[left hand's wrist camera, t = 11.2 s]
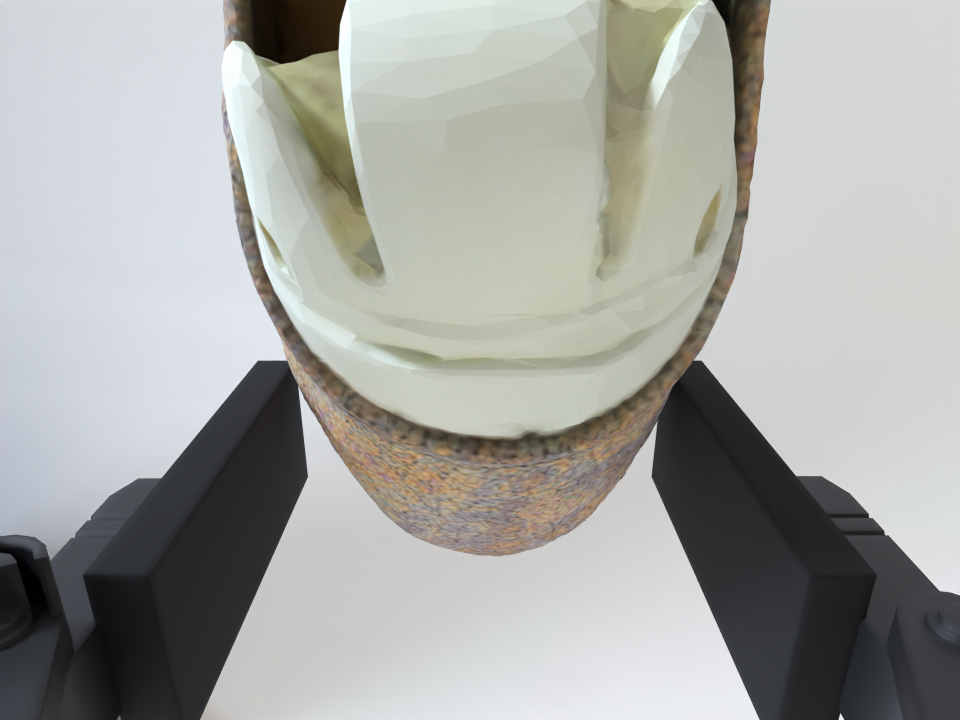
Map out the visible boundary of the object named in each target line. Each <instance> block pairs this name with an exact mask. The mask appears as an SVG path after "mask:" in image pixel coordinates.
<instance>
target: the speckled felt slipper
mask: <svg viewBox="0 0 960 720" xmlns="http://www.w3.org/2000/svg"><path fill="white" fill-rule="evenodd" d="M770 3H771V0H224V5H223V11H224V20H225V46H224V58H223V62H222V82H223V88H224V90H223V98H222V115H223V129H224V134H225V136H226V139H227V151H228V155H229V163H230V170H231V179H232V189H233V199H234V209H235V215H236V223H237V227H238V231H239V235H240V240H241V244H242V248H243V251H244V255H245V258H246V261H247V265H248V268H249V271H250V274H251V277H252V280H253V282H254V285H255V287H256V290H257V292H258V295H259V296H260V298H261V300H262V302H263V304H264V306H265V308H266V310H267V312H268V314H269V316H270V318H271V320H272V322H273V323H274V325H275V327H276V329H277V331H278V333H279V335H280V337H281V340H282V344H283V348H284V351H285V355H286V359H287V361H288V364H289V366H290V368H291V371H292V373H293V376H294V378H295V380H296V382H297V384H298V386H299V388H300V390H301V392H302V394H303V396H304V399H305V400H306V402H307V404H308V405H309V407H310V409H311V411H312V412H313V413H314V414H315V416H316V418H317V420H318V422H319V423H320V424H321V426H322V428H323V430H324V432H325V434H326V435H327V437H328V438H329V440H330V443H331V444H332V446H333V448H334V450H335V451H336V452H337V453H338V454H339V456H340V457H341V459H342V460H343V462H344V463H345V465H346V466H347V468H348V469H349V470H350V472H351V473H352V474H353V476H354V477H355V478H356V480H357V481H358V482H359V483H360V485H361V486H362V487H363V488H364V490H365V491H366V492H367V494H368V495H369V496H370V497H371V498H372V499H373V500H374V501H375V502H376V504H377V505H378V506H379V508H380V509H381V510H382V511H383V512H384V513H385V514H386V515H387V516H388V517H389V518H390V519H391V520H392V521H393V522H395V523H396V524H397V525H398V526H399V527H401V528H402V529H403V530H405V531H406V532H407V533H410V534H411V535H413V536H414V537H416V538H419V539H421V540H423V541H426V542H428V543H431V544H433V545H436V546H440V547H443V548H447V549H450V550H454V551H459V552H465V553H470V554H475V555H491V556H503V555H512V554H517V553H520V552H523V551H527V550H530V549H533V548H538V547H542V546H544V545H546V544H547V543H549V542H551V541H553V540H555V539H557V538H558V537H560V536H562V535H565V534H567V533H569V532H570V531H572V530H573V529H574V528H576V527H577V526H579V525H580V524H581V523H582V522H583V521H585V520H586V519H587V518H588V517H589V516H590V515H591V514H592V513H593V512H594V511H595V510H596V508H597V507H598V505H599V504H600V503H601V502H602V501H603V500H604V499H605V498H606V496H607V495H608V494H609V493H610V492H611V490H612V489H613V488H614V487H615V485H616V483H617V482H618V481H619V480H620V479H622V477H623V476H624V475H625V473H626V471H627V469H628V468H629V466H630V465H631V463H632V461H633V459H634V457H635V456H636V454H637V453H638V451H639V450H640V448H641V447H642V446H643V444H644V443H645V441H646V440H647V438H648V437H649V435H650V433H651V431H652V430H653V428H654V426H655V424H656V423H657V420H658V417H659V415H660V413H661V411H662V409H663V407H664V405H665V402H666V401H667V399H668V396H669V393H670V391H671V389H672V387H673V385H674V384H675V383H676V382H677V381H678V379H679V378H680V377H681V376H682V375H683V373H684V372H685V371H686V370H687V368H688V367H689V366H690V364H691V363H692V362H693V360H694V359H695V358H696V356H697V355H698V354H699V352H700V351H701V350H702V348H703V346H704V344H705V342H706V340H707V338H708V336H709V334H710V332H711V330H712V328H713V326H714V324H715V322H716V320H717V318H718V315H719V313H720V311H721V308H722V306H723V303H724V301H725V298H726V296H727V294H728V291H729V289H730V287H731V284H732V282H733V280H734V277H735V273H736V269H737V266H738V262H739V258H740V253H741V249H742V242H743V234H744V227H745V224H746V221H747V219H748V209H749V199H750V189H749V186H750V182H751V179H752V175H753V165H754V157H755V151H756V145H757V124H758V117H759V110H760V99H761V89H762V85H763V80H764V70H763V60H764V44H765V36H766V29H767V23H768V17H769V12H770Z"/></svg>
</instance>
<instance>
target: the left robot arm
mask: <svg viewBox="0 0 960 720" xmlns="http://www.w3.org/2000/svg"><path fill="white" fill-rule="evenodd" d="M307 478H308V473H307V464H306V455H305V446H304V436H303V427H302V418H301V409H300V399H299V390H298V384H297V382H296V380H295V378H294V376H293V373H292V371H291V368H290V366H289V364H288V361H257V363H256V364H255V365H254V366H253V368H252V369H251V370H250V371H249V372H248V374H247V375H246V376H245V377H244V379H243V380H242V381H241V382H240V383H239V385H238V386H237V387H236V388H235V390H234V391H233V392H232V393H231V394H230V396H229V397H228V398H227V399H226V400H225V402H224V403H223V404H222V405H221V407H220V408H219V409H218V410H217V411H216V413H215V414H214V415H213V416H212V418H211V419H210V420H209V421H208V422H207V424H206V425H205V426H204V427H203V429H202V430H201V431H200V432H199V433H198V435H197V436H196V437H195V438H194V439H193V441H192V442H191V443H190V444H189V446H188V447H187V448H186V449H185V450H184V452H183V453H182V454H181V455H180V457H179V458H178V459H177V460H176V461H175V463H174V464H173V465H172V466H171V468H170V469H169V470H168V471H167V472H166V474H165V475H164V476H163V477H162V478H161V479H137V480H135V481H134V482H132V483H130V484H129V485H127V486H125V487H124V488H122V489H121V490H119V491H117V492H116V493H114V494H112V495H111V496H109V498H108V499H107V500H106V501H105V502H104V503H103V504H102V505H101V506H100V507H99V509H98V510H97V511H96V512H95V513H94V514H93V515H92V516H91V521H87V522H86V523H85V524H84V525H83V526H82V527H81V528H80V529H79V530H78V532H77V533H76V537H75V538H71V539H70V540H69V541H68V543H67V544H66V545H65V546H64V547H63V548H62V549H61V550H60V551H59V552H58V553H57V555H56V556H55V557H54V558H53V559H52V560H51V561H50V559H49V556H48V552H47V549H46V545H45V544H43V543H42V542H40V541H39V540H38V539H36V538H35V537H28V536H21V535H9V536H0V720H200V718H201V716H202V714H203V712H204V709H205V707H206V705H207V703H208V700H209V698H210V696H211V694H212V691H213V689H214V687H215V685H216V682H217V680H218V678H219V676H220V673H221V671H222V669H223V667H224V664H225V662H226V660H227V658H228V655H229V653H230V651H231V649H232V646H233V644H234V642H235V640H236V637H237V635H238V633H239V631H240V628H241V626H242V624H243V622H244V619H245V617H246V615H247V613H248V610H249V608H250V606H251V604H252V601H253V599H254V597H255V595H256V592H257V590H258V588H259V586H260V583H261V581H262V579H263V577H264V574H265V572H266V570H267V568H268V565H269V563H270V561H271V559H272V556H273V554H274V552H275V550H276V547H277V545H278V543H279V541H280V538H281V536H282V534H283V532H284V529H285V527H286V525H287V523H288V520H289V518H290V516H291V514H292V511H293V509H294V507H295V505H296V502H297V500H298V498H299V496H300V493H301V491H302V489H303V487H304V484H305V482H306V480H307ZM652 479H653V481H654V483H655V485H656V488H657V490H658V492H659V494H660V497H661V499H662V501H663V503H664V506H665V508H666V510H667V512H668V515H669V517H670V519H671V521H672V524H673V526H674V528H675V530H676V533H677V535H678V537H679V539H680V542H681V544H682V546H683V548H684V551H685V553H686V555H687V557H688V560H689V562H690V564H691V566H692V569H693V571H694V573H695V575H696V578H697V580H698V582H699V584H700V587H701V589H702V591H703V593H704V596H705V598H706V600H707V602H708V605H709V607H710V609H711V611H712V614H713V616H714V618H715V620H716V623H717V625H718V627H719V629H720V632H721V634H722V636H723V638H724V641H725V643H726V645H727V647H728V650H729V652H730V654H731V656H732V659H733V661H734V663H735V665H736V668H737V670H738V672H739V674H740V677H741V679H742V681H743V683H744V686H745V688H746V690H747V692H748V695H749V697H750V699H751V701H752V704H753V706H754V708H755V710H756V713H757V715H758V717H759V719H760V720H839V716H840V713H841V715H842V716H843V718H844V720H960V595H956V594H953V593H950V592H941V591H939V590H938V589H937V588H936V587H935V586H934V585H933V583H932V582H931V581H930V580H929V579H928V578H927V577H926V576H925V575H924V574H923V573H922V572H921V570H920V569H919V568H918V567H917V566H916V565H915V564H914V563H913V562H912V561H911V560H910V558H909V557H908V556H907V555H906V554H905V553H904V552H903V551H902V550H901V549H900V548H899V546H898V545H897V544H896V543H895V542H894V541H893V540H892V539H891V538H890V537H889V536H888V535H885V534H884V530H883V529H882V528H881V527H880V526H879V525H878V524H877V523H876V521H875V520H874V519H873V518H869V514H868V513H867V512H866V511H865V509H864V508H863V507H862V506H861V505H860V504H859V503H858V502H857V501H856V500H855V499H854V497H853V496H852V495H851V494H850V493H848V492H846V491H845V490H843V489H841V488H840V487H838V486H837V485H835V484H833V483H832V482H830V481H828V480H827V479H825V478H823V477H822V476H796V475H795V474H794V473H793V472H792V471H791V469H790V468H789V467H788V466H787V465H786V463H785V462H784V461H783V460H782V458H781V457H780V456H779V455H778V454H777V452H776V451H775V450H774V449H773V447H772V446H771V445H770V444H769V443H768V441H767V440H766V439H765V438H764V436H763V435H762V434H761V433H760V432H759V430H758V429H757V428H756V427H755V425H754V424H753V423H752V422H751V421H750V419H749V418H748V417H747V416H746V415H745V413H744V412H743V411H742V410H741V408H740V407H739V406H738V405H737V404H736V402H735V401H734V400H733V399H732V397H731V396H730V395H729V394H728V393H727V391H726V390H725V389H724V388H723V386H722V385H721V384H720V383H719V382H718V380H717V379H716V378H715V377H714V375H713V374H712V373H711V372H710V371H709V369H708V368H707V367H706V366H705V365H704V363H703V362H702V361H693V362H692V363H691V364H690V366H689V367H688V368H687V370H686V371H685V372H684V373H683V375H682V376H681V377H680V378H679V379H678V381H677V382H676V383H675V384H674V385H673V387H672V389H671V391H670V393H669V396H668V399H667V401H666V402H665V405H664V407H663V409H662V411H661V413H660V415H659V417H658V423H657V432H656V441H655V450H654V460H653V469H652Z"/></svg>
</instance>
